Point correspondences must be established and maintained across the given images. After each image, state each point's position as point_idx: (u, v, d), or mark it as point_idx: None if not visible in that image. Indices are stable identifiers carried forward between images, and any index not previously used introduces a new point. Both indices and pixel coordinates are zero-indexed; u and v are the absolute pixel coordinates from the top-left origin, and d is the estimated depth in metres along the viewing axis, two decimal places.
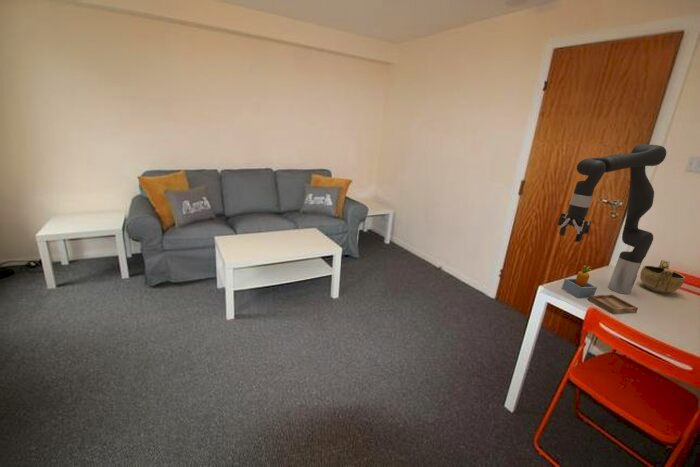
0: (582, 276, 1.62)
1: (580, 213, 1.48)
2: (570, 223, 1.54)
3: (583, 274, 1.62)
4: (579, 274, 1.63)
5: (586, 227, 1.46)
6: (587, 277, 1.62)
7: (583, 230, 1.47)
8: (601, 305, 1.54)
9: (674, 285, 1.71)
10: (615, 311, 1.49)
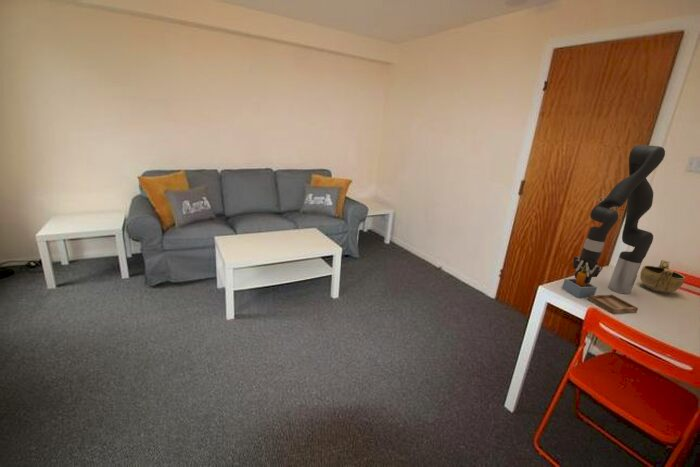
0: (582, 276, 1.62)
1: (593, 257, 1.57)
2: (583, 265, 1.63)
3: (583, 274, 1.62)
4: (579, 274, 1.63)
5: (596, 272, 1.57)
6: None
7: (593, 274, 1.58)
8: (601, 305, 1.54)
9: (674, 285, 1.71)
10: (615, 311, 1.49)
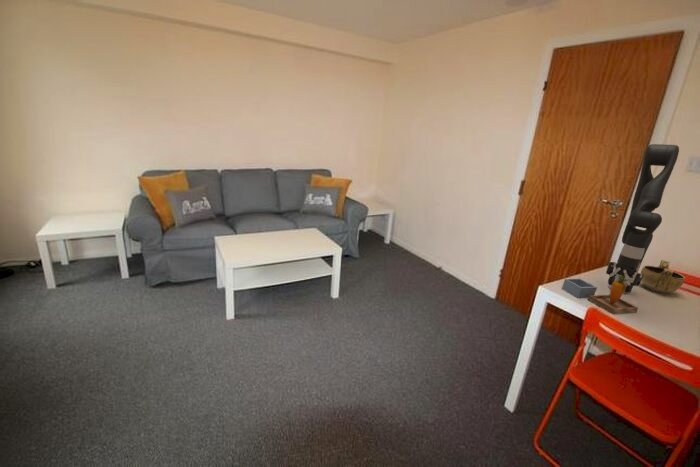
0: (618, 286, 1.51)
1: (633, 264, 1.46)
2: (620, 273, 1.52)
3: (619, 284, 1.51)
4: (614, 284, 1.53)
5: (638, 280, 1.45)
6: (623, 287, 1.51)
7: (634, 282, 1.46)
8: (601, 305, 1.54)
9: (674, 285, 1.71)
10: (615, 311, 1.49)
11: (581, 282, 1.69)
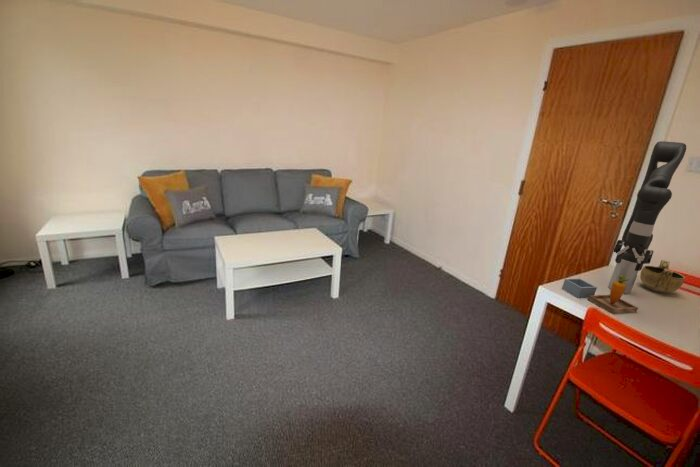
0: (618, 286, 1.51)
1: (642, 242, 1.42)
2: (629, 251, 1.48)
3: (619, 284, 1.51)
4: (615, 284, 1.53)
5: (648, 257, 1.41)
6: (624, 288, 1.51)
7: (645, 260, 1.42)
8: (601, 305, 1.54)
9: (674, 285, 1.71)
10: (615, 311, 1.49)
11: (581, 282, 1.69)
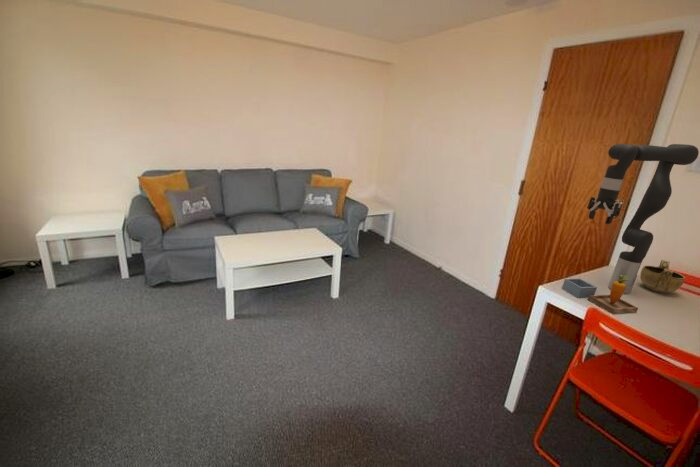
0: (618, 286, 1.51)
1: (611, 196, 1.53)
2: (600, 206, 1.59)
3: (619, 284, 1.51)
4: (615, 284, 1.53)
5: (617, 209, 1.52)
6: (624, 287, 1.51)
7: (614, 212, 1.52)
8: (601, 305, 1.54)
9: (674, 285, 1.71)
10: (615, 311, 1.49)
11: (581, 282, 1.69)
